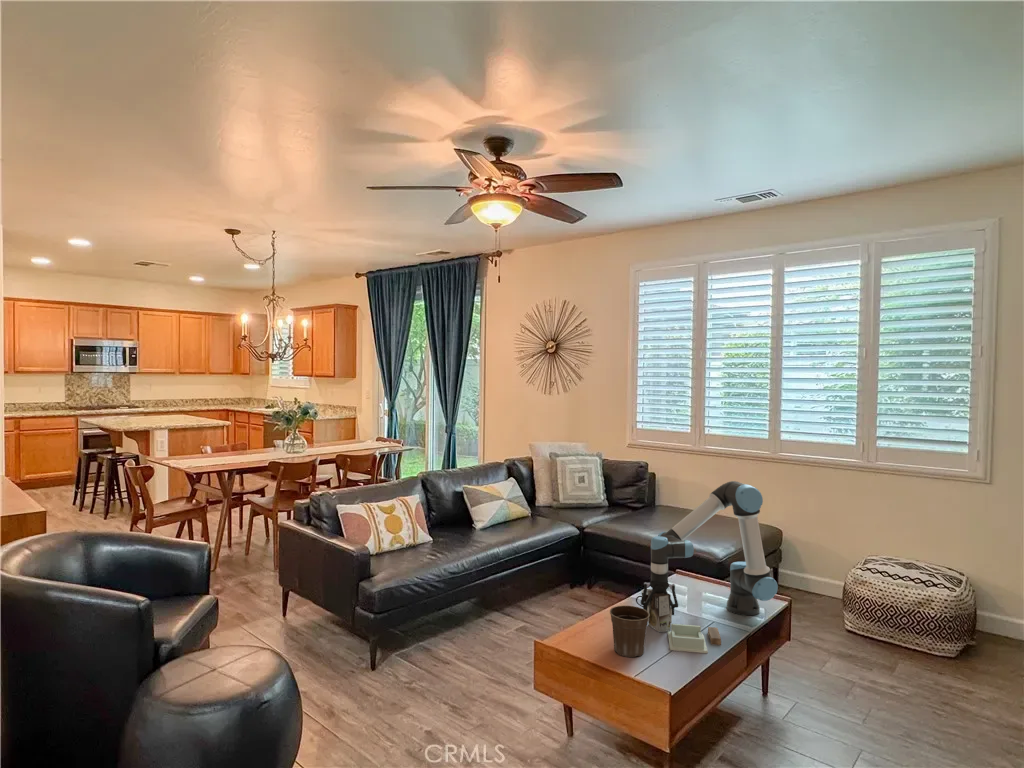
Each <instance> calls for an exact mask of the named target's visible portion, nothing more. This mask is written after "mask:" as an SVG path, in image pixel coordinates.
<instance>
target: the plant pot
mask: <svg viewBox="0 0 1024 768" xmlns="http://www.w3.org/2000/svg"><path fill="white" fill-rule="evenodd" d="M609 614H610V620H611V623H612V637H613V650H614V652H615V653H617V655H619V656H622V657H627V658H636V657H637V656H638V657H641V656H642V655H643V654H644V653H645V643H646V642H645V641H646V636H647V628H648V627H647V626H649V625H648V618H649V616H650V614H649V612H648V611H646V610H645V609H643V607H640V606H639V607H638V606H634V605H617V606H613V607H611V608H610V610H609Z"/></svg>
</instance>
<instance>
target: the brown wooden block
mask: <svg viewBox="0 0 1024 768" xmlns="http://www.w3.org/2000/svg"><path fill="white" fill-rule="evenodd" d="M707 633H708V635H707V636H708V637H709V641H710V645H715V646H716V645H717V646H722V638H721V634H720V631H719V629H718V627H713V626H708V627H707Z"/></svg>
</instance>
